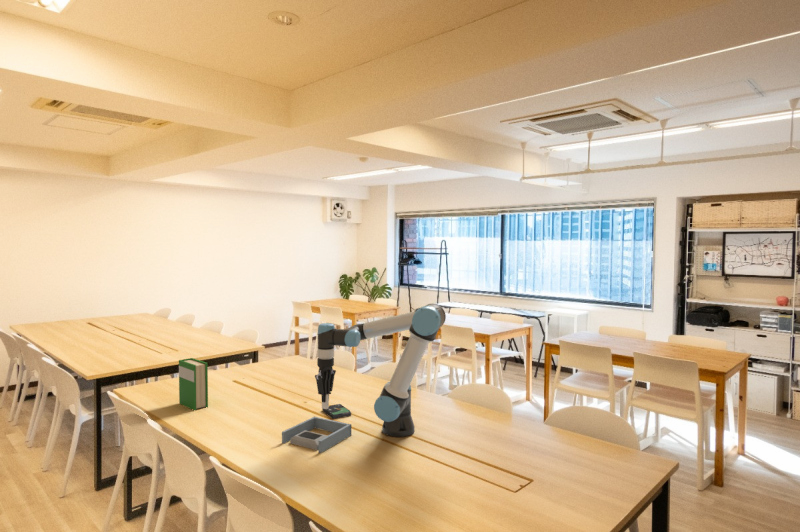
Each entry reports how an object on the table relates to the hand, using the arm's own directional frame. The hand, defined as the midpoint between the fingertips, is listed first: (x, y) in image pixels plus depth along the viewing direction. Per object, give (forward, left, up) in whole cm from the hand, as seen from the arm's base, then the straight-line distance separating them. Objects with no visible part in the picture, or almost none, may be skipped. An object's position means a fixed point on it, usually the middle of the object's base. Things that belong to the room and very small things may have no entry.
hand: (325, 408), depth 226 cm
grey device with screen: (0, +11, -13) cm, 17 cm away
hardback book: (+88, +2, -12) cm, 89 cm away
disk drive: (+13, -26, -13) cm, 32 cm away
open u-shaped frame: (0, +5, -12) cm, 13 cm away
